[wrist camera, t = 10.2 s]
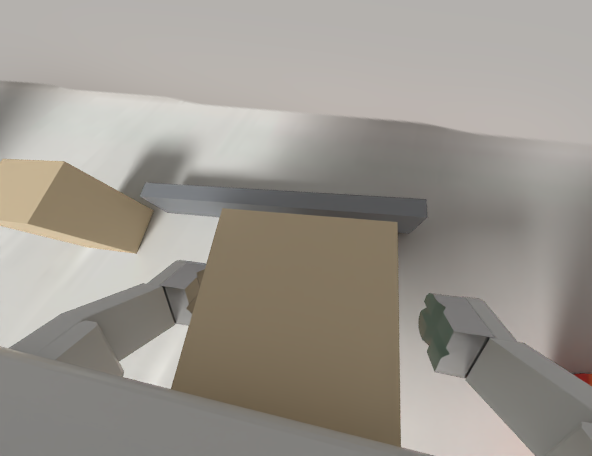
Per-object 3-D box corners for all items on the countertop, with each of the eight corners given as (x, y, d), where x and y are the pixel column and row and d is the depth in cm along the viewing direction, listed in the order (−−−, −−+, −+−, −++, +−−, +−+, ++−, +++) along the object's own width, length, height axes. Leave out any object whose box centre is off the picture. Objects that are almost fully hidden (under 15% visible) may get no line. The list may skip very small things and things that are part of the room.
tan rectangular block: (271, 340, 14) (165, 407, 5) (283, 265, 16) (221, 208, 6) (350, 355, 13) (410, 474, 4) (355, 274, 15) (403, 222, 5)
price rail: (167, 212, 19) (139, 196, 16) (172, 199, 19) (146, 180, 16) (408, 233, 15) (427, 217, 12) (408, 216, 16) (426, 197, 13)
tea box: (88, 247, 19) (-39, 216, 12) (109, 205, 20) (3, 156, 13) (136, 253, 18) (27, 223, 11) (154, 209, 19) (65, 159, 13)
